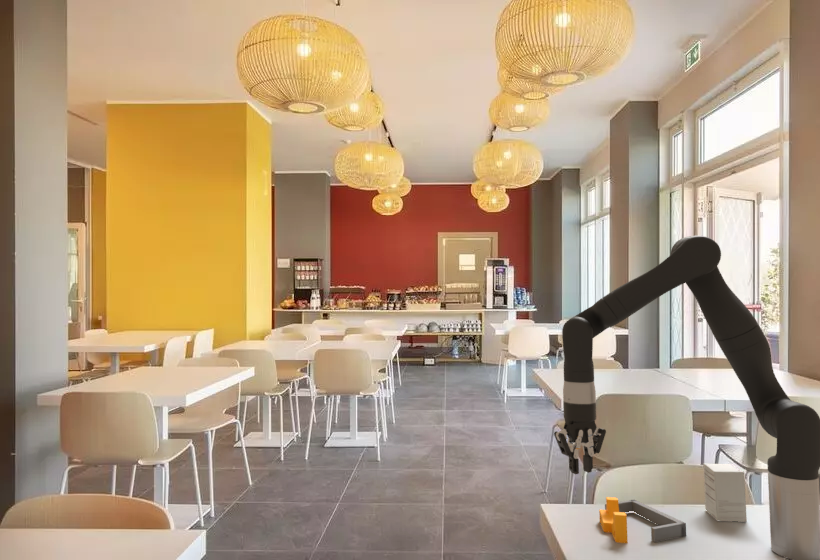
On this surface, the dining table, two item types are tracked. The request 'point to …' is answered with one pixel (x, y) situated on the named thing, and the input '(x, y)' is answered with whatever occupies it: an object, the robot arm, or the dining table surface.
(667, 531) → the frame
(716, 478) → the supplement box
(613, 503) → the pipe clamp
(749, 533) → the dining table surface
